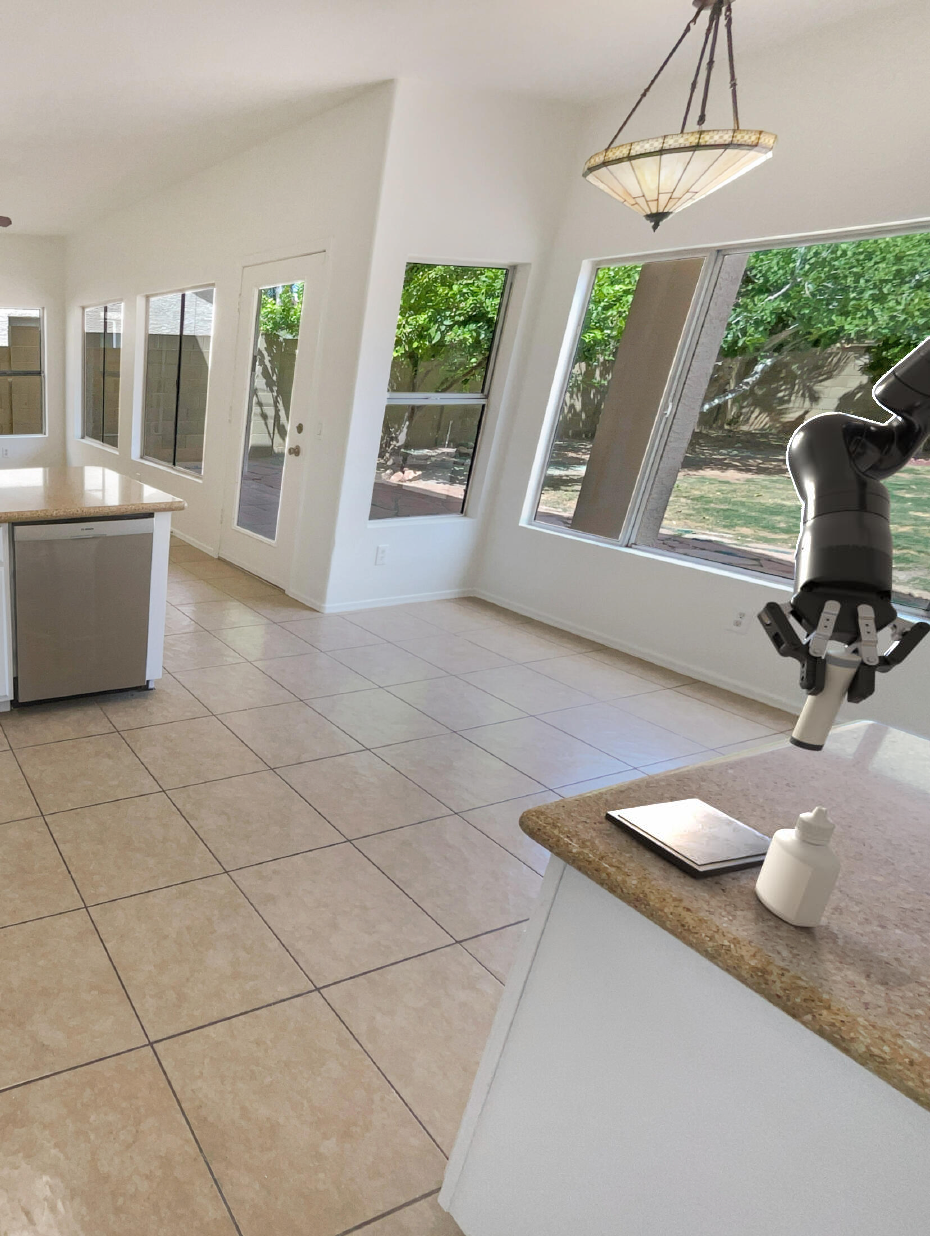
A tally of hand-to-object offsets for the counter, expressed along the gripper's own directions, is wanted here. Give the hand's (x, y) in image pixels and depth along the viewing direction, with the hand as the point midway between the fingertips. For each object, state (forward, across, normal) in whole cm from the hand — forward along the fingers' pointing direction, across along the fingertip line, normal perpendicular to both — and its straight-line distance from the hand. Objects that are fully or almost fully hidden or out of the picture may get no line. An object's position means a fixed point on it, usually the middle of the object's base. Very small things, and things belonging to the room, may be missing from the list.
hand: (836, 696), depth 74 cm
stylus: (+4, 0, +6) cm, 7 cm away
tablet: (+16, -8, +11) cm, 21 cm away
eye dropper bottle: (+23, -2, +4) cm, 23 cm away
